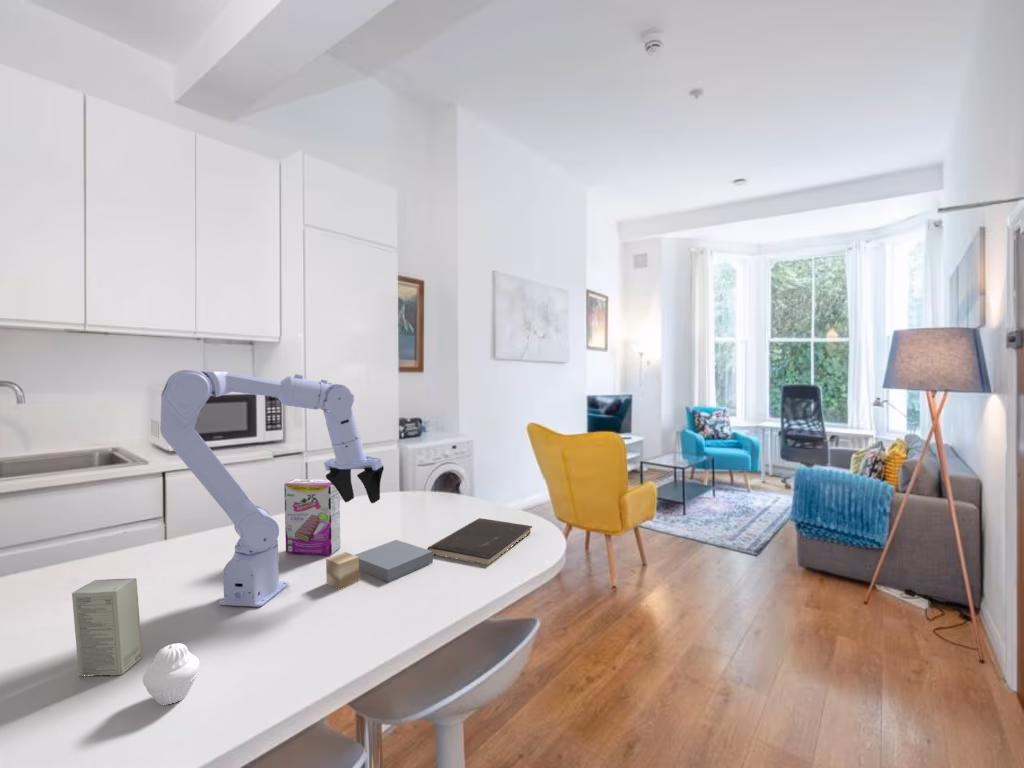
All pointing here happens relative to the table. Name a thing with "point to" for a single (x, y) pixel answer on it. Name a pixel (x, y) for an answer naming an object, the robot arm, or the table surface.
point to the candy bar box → (312, 517)
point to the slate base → (393, 560)
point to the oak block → (342, 570)
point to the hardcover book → (480, 540)
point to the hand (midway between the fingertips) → (362, 500)
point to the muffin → (171, 674)
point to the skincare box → (107, 626)
